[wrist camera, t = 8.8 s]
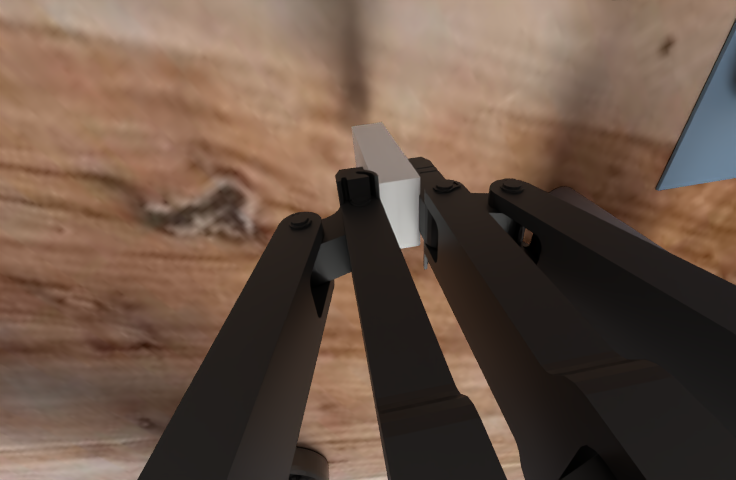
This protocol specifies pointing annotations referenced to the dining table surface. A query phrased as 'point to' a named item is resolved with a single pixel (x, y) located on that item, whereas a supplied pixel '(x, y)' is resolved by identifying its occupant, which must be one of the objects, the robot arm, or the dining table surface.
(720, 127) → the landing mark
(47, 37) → the dining table surface
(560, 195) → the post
